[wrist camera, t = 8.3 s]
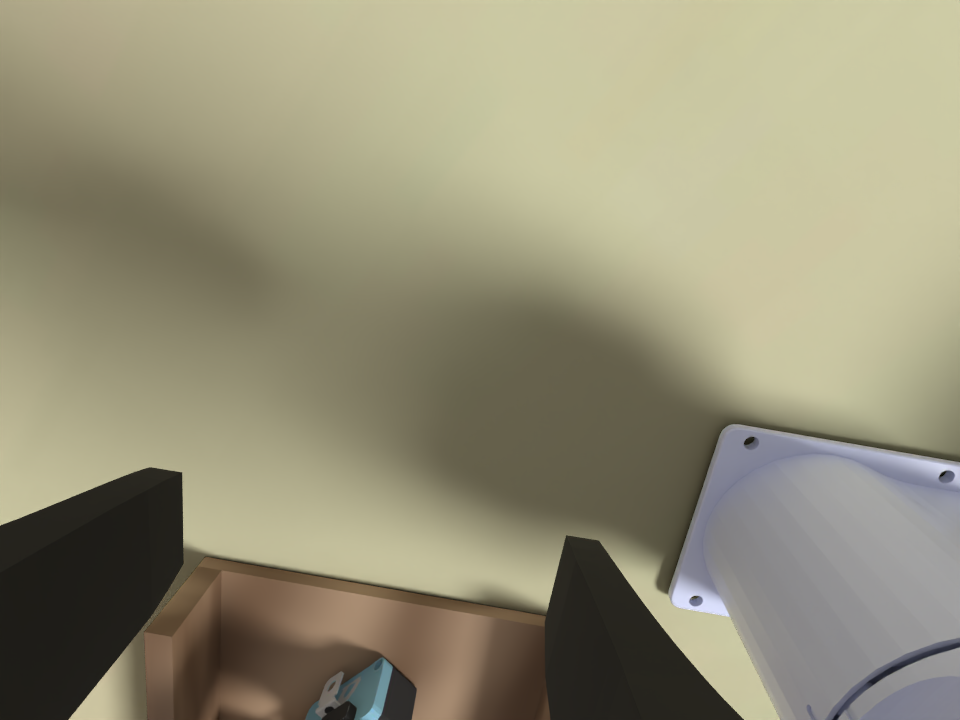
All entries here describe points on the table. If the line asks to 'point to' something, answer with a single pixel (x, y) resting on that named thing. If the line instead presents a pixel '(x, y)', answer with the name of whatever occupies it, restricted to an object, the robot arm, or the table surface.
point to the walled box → (334, 648)
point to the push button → (367, 696)
